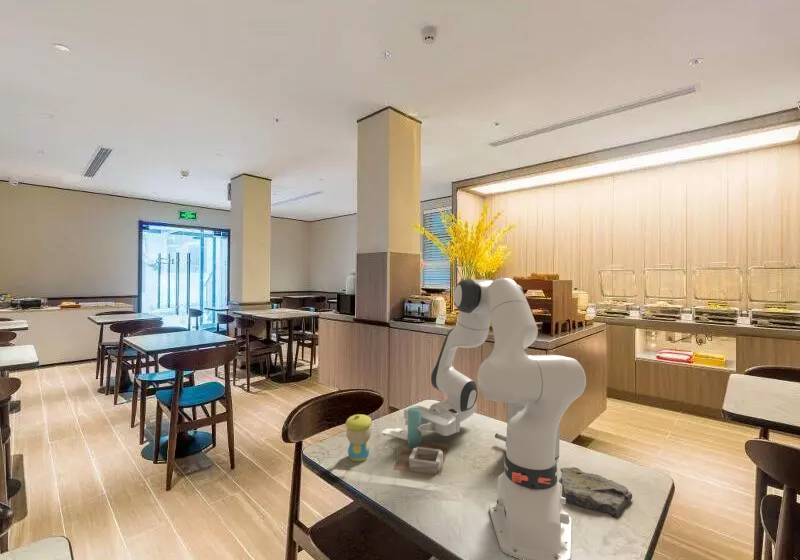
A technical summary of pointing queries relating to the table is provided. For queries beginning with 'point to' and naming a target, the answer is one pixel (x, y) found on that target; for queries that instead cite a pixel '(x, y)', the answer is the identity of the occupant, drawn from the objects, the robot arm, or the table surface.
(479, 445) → the table surface
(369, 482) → the table surface
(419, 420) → the teal peg
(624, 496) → the stone
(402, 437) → the toy car
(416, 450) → the walnut board
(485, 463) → the table surface
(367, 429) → the toy
